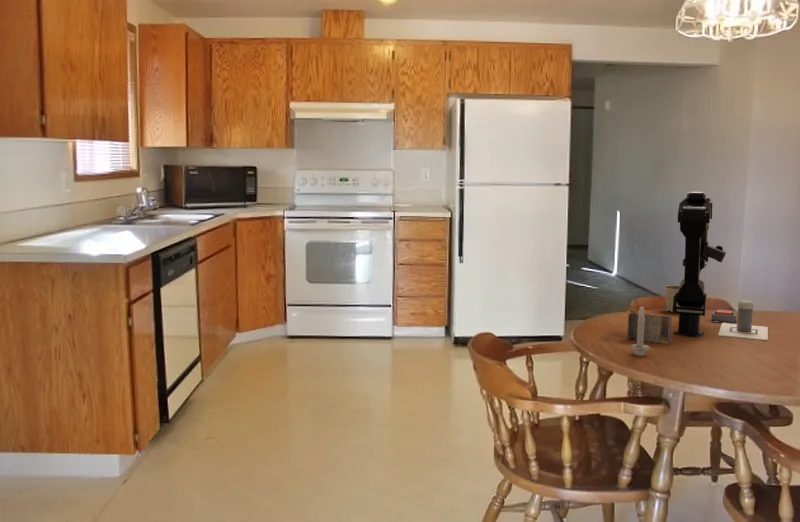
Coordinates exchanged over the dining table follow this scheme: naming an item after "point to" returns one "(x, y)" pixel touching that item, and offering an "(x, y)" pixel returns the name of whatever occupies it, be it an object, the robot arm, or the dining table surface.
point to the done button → (724, 312)
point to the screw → (640, 335)
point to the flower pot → (670, 295)
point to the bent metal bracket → (650, 327)
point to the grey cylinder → (745, 315)
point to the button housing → (723, 317)
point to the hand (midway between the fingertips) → (694, 286)
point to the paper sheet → (755, 333)
